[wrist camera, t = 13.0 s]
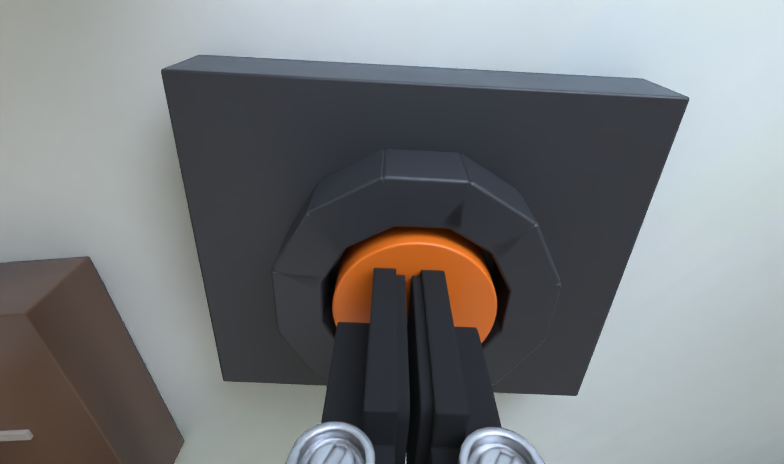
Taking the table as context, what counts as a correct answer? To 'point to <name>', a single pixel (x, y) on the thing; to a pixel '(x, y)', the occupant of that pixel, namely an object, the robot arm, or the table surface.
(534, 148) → the button base
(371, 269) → the button
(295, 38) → the table surface
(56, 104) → the table surface
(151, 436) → the dial panel
